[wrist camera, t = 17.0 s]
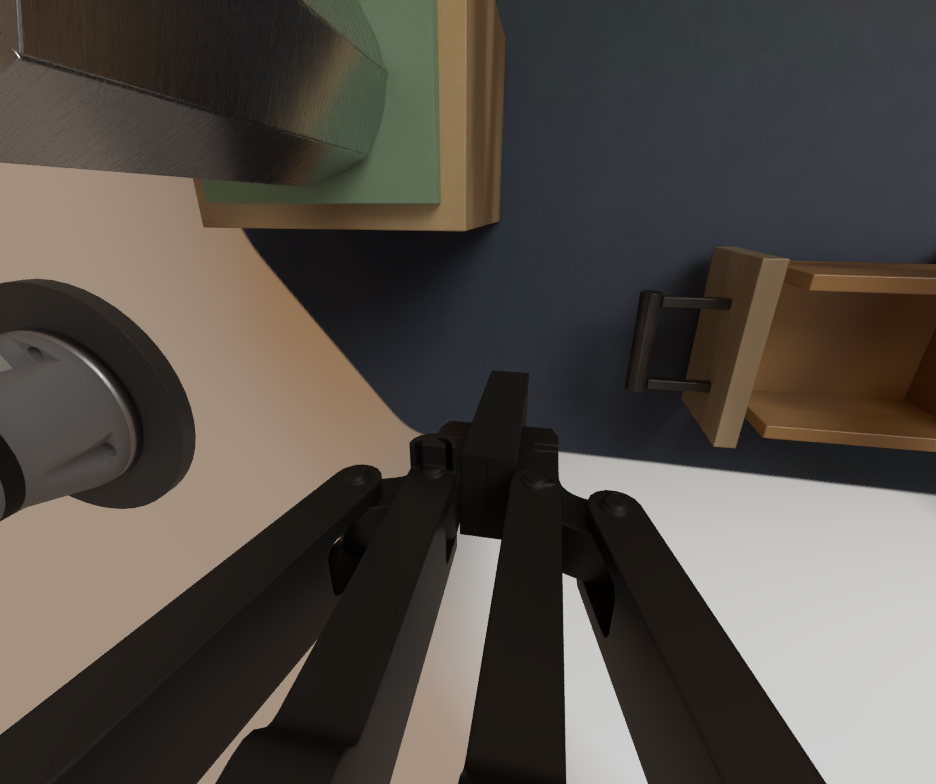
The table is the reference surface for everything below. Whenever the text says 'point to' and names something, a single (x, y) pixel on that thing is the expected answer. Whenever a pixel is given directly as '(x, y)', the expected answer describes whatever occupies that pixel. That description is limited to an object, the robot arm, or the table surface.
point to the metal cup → (191, 87)
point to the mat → (401, 130)
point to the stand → (461, 143)
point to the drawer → (804, 351)
